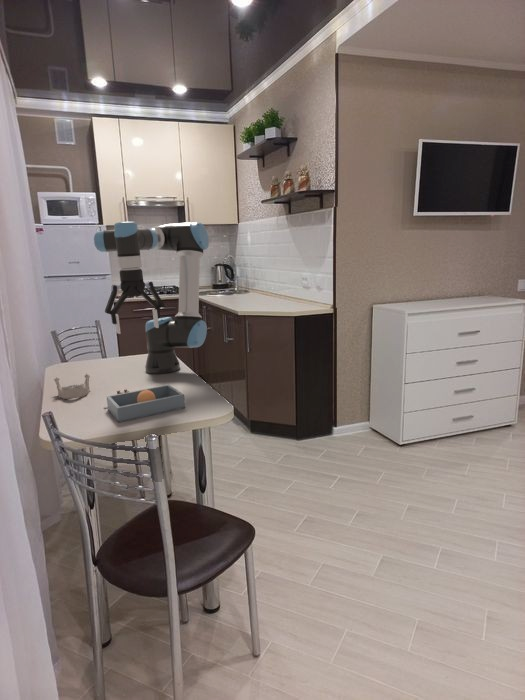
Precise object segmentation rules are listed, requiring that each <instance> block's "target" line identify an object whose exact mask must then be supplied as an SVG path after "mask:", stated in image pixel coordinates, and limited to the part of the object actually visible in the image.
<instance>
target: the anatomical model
mask: <svg viewBox="0 0 525 700" xmlns="http://www.w3.org/2000/svg"><path fill="white" fill-rule="evenodd" d="M90 377H91V376H90V374H88V373H86V374H85V375H84V378H85V381H84V383H80V384H72V385H67V386H61V384H60V381H59V380H60V378H59V377H57V376H56V377H55V378H54V379H53V381H54V382H55V384H56V389H57V397H58V398H61V399H62V400H71V399H79V398H80V399H81V398H84V397H85V396H87V395H88V394H89V393H90V392H91V389H90Z"/></svg>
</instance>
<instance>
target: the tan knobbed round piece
mask: <svg viewBox="0 0 525 700" xmlns="http://www.w3.org/2000/svg"><path fill="white" fill-rule="evenodd" d="M127 392H130V391H128V389H126V388H125V389H124V390H123V392H122V391H121V390H117V391H116V394H121V393H127Z"/></svg>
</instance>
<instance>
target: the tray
mask: <svg viewBox="0 0 525 700" xmlns="http://www.w3.org/2000/svg"><path fill="white" fill-rule="evenodd" d="M144 390H149V391H152V392H153V393H154V395H155V397H156V399H155V400H151V401H146V402H141V403H138V402H137V397H138V395H139V393H140V392H142V391H144ZM106 402H107V403H106V404H107V407H108V408H107V409H108V411H109V412H110V414H111V415H112V416H113V417H114V418H115V420H116V421H117V422H118V423H122V422H127V421H131V420H134V419H140V418H145V417H149V416H153V415H159V414H163V413H166V412H168V413H169V412H173V411H178V410H181V409H182V410H183V409H185V408H186V402H185V394H184V393H182V391H179V390H178V389H177V388H175V387H174V386H172V385H170V384H165V385H159V386H154V387H149V388H144V389H139V390H132V391H129V392H127V393H121V394H117V393H116V394H113V395H112V394H111V395H107V396H106Z"/></svg>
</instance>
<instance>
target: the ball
mask: <svg viewBox="0 0 525 700" xmlns="http://www.w3.org/2000/svg"><path fill="white" fill-rule="evenodd" d="M155 399H156V397H155V395H154V393H153V392H152V391H149V390H144V391H142V392H140V393H139V395H138V397H137V402H138V403H141V402H146V401H151V400H155Z"/></svg>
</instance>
